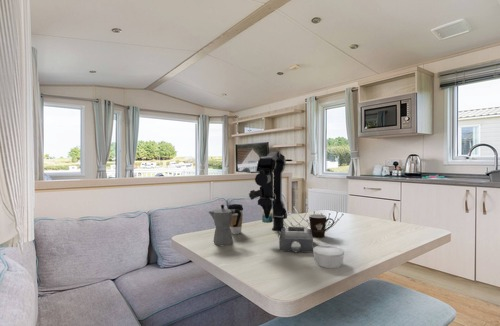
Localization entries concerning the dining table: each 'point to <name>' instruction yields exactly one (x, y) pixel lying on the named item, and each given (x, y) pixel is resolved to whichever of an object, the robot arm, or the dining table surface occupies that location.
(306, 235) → the grey hollow block
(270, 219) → the metal can
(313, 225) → the coffee mug
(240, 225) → the coffee cup
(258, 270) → the dining table surface
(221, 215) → the coffeepot
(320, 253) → the ramekin
